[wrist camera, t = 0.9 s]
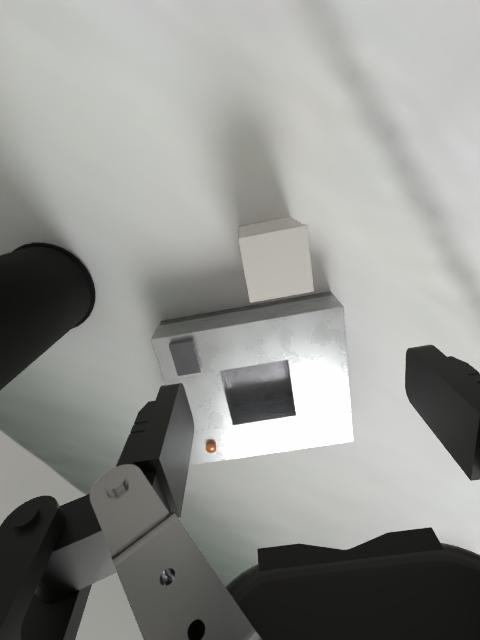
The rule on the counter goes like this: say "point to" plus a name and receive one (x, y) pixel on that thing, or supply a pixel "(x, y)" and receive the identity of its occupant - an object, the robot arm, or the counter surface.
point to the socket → (261, 376)
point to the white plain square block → (276, 259)
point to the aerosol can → (39, 303)
